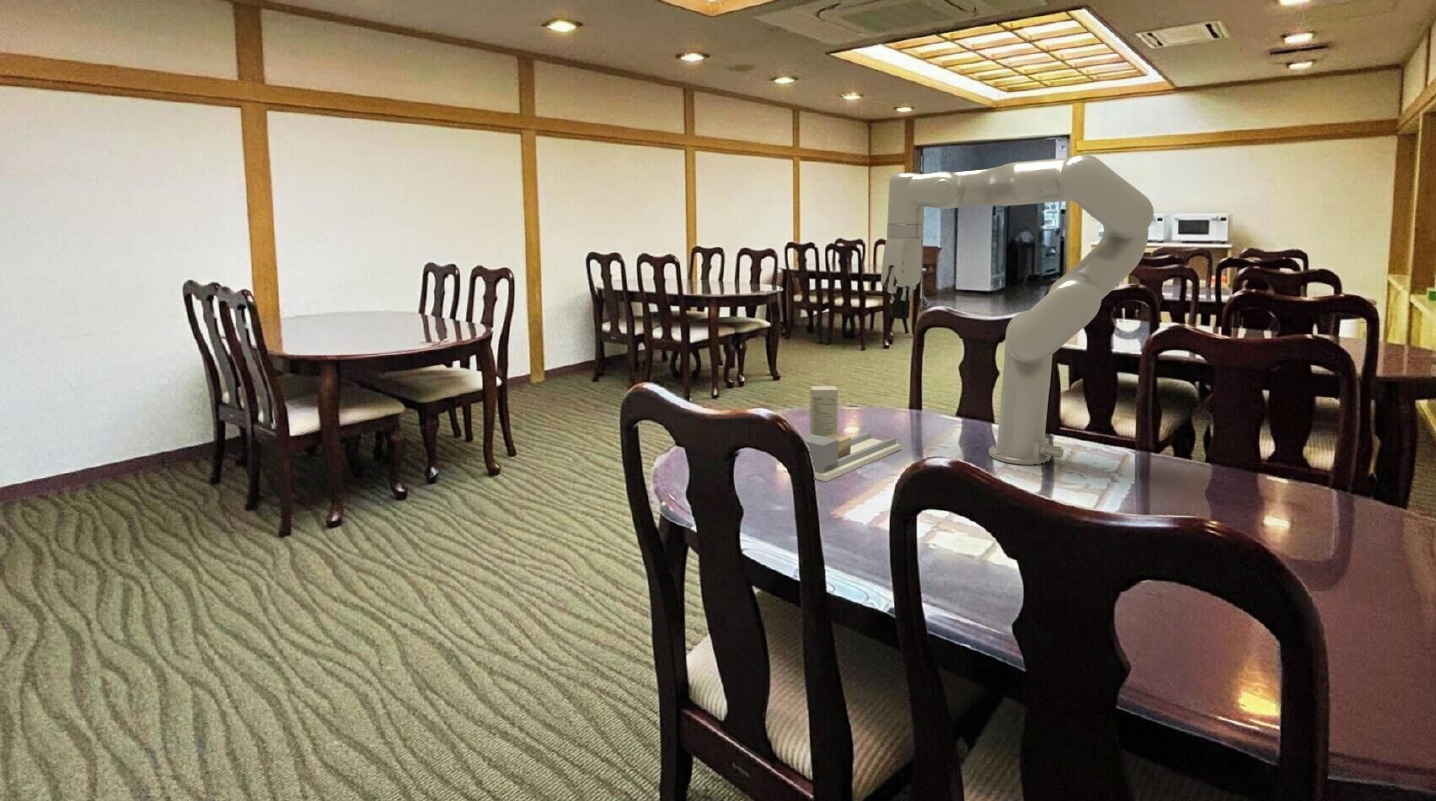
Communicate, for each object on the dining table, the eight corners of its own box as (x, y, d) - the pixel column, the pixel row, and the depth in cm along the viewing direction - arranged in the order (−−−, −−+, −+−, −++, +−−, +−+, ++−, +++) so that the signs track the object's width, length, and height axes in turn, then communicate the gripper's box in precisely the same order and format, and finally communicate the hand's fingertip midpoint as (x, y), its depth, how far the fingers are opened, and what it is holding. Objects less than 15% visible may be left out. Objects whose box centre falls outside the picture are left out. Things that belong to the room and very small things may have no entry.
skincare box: (836, 436, 200) (838, 385, 198) (837, 441, 196) (839, 389, 193) (808, 436, 201) (810, 385, 198) (808, 441, 197) (810, 388, 194)
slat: (850, 458, 179) (851, 437, 178) (817, 470, 171) (818, 449, 170) (834, 454, 182) (834, 433, 181) (800, 466, 173) (801, 445, 172)
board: (900, 449, 190) (902, 419, 189) (826, 481, 168) (827, 447, 166) (861, 441, 196) (863, 411, 195) (784, 471, 174) (785, 438, 173)
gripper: (905, 231, 191) (901, 313, 195) (871, 233, 180) (867, 320, 184) (936, 232, 186) (932, 316, 190) (903, 234, 175) (899, 323, 179)
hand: (900, 318), depth 187 cm, fingers closed
